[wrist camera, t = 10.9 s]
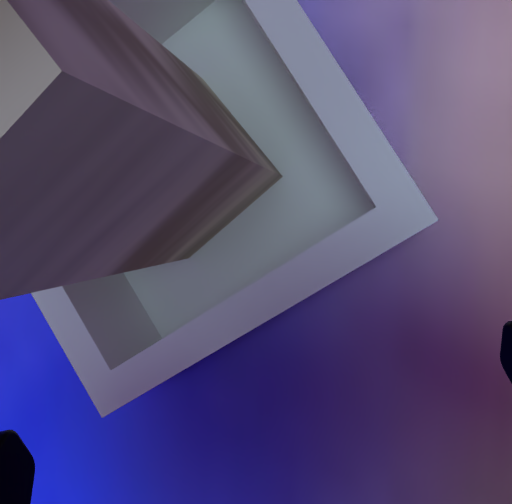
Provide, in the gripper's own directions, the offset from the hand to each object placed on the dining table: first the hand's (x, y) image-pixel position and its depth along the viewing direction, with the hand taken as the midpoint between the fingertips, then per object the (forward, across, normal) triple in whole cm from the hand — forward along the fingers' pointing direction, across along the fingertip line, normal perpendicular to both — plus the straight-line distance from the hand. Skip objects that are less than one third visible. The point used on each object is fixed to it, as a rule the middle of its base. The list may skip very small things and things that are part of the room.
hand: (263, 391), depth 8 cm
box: (+13, +1, 0) cm, 13 cm away
